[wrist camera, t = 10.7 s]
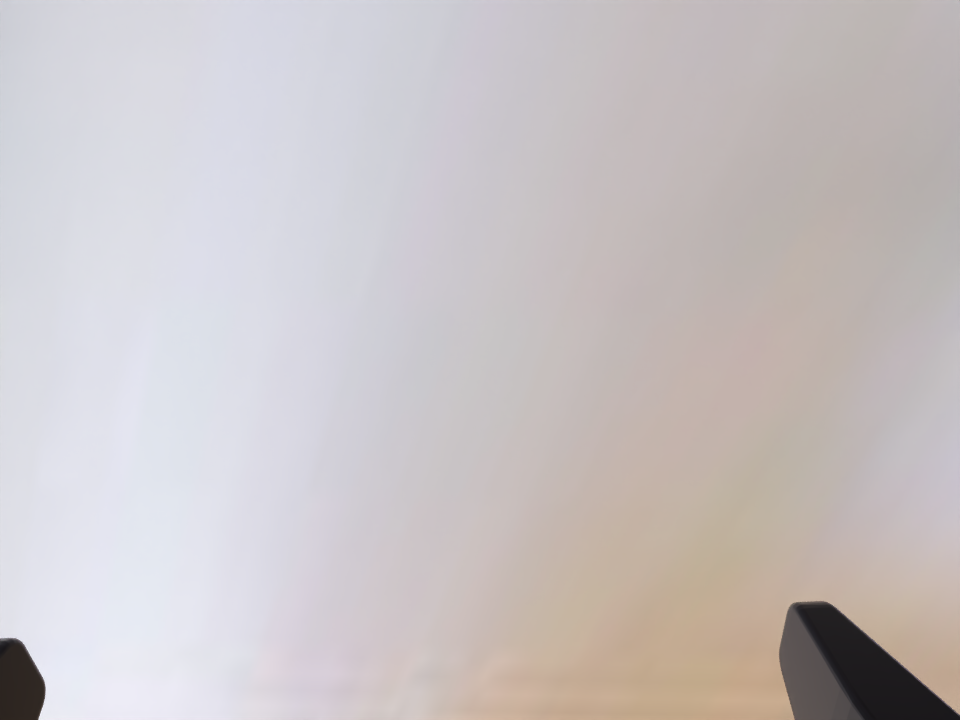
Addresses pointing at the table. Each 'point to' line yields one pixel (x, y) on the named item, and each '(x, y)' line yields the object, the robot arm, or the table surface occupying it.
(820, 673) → the robot arm
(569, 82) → the table surface
